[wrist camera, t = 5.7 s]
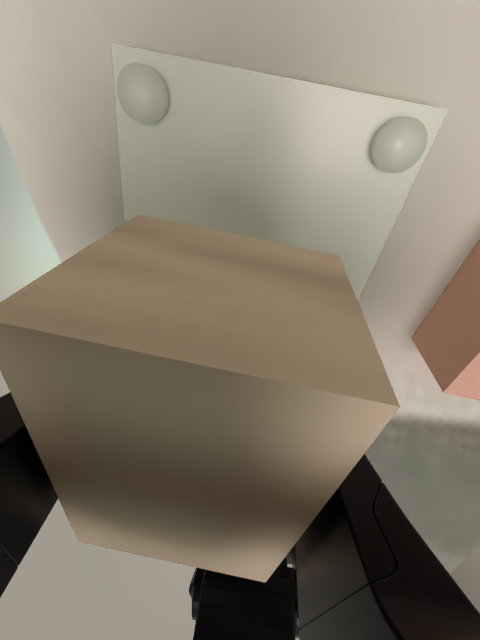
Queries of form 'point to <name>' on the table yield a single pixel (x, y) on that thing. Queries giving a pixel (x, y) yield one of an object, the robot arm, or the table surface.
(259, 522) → the birch brick
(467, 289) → the terracotta brick
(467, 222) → the table surface
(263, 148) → the build plate
